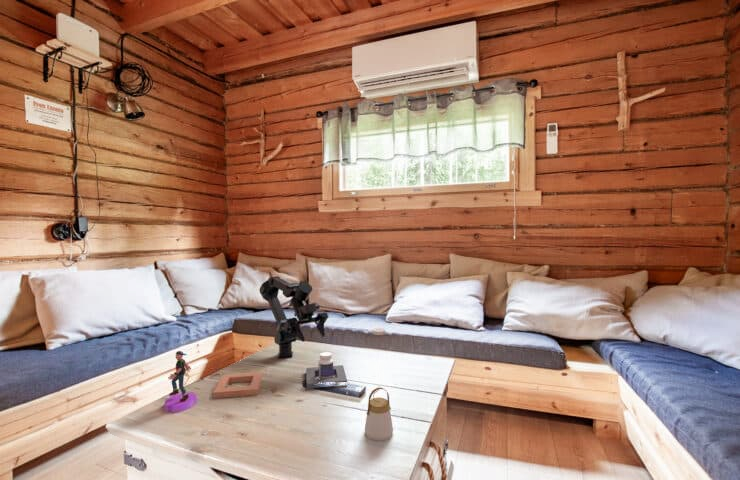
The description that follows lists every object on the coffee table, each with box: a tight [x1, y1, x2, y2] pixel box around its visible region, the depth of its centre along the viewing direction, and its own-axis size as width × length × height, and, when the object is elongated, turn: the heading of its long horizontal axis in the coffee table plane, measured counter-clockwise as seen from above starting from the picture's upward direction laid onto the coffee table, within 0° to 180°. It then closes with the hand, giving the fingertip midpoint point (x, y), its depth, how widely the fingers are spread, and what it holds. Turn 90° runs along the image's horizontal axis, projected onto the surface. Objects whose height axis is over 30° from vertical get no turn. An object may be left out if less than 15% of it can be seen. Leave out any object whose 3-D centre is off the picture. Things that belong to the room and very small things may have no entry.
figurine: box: [164, 350, 197, 413], centre depth 117 cm, size 9×9×18 cm
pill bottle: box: [318, 351, 334, 379], centre depth 137 cm, size 6×6×10 cm
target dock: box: [212, 371, 264, 399], centre depth 131 cm, size 15×15×2 cm
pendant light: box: [364, 327, 394, 442], centre depth 101 cm, size 8×8×30 cm
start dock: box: [305, 364, 348, 390], centre depth 137 cm, size 15×15×2 cm
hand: (314, 338), depth 142 cm, fingers open, 9 cm apart
